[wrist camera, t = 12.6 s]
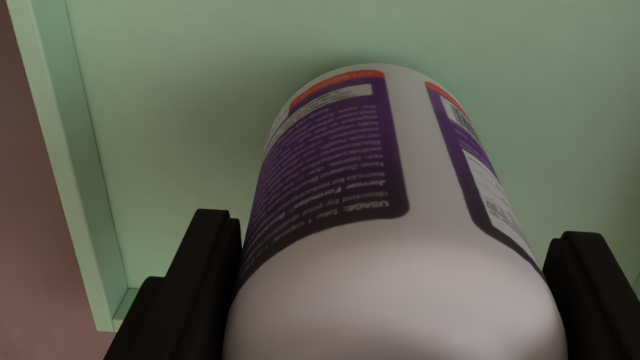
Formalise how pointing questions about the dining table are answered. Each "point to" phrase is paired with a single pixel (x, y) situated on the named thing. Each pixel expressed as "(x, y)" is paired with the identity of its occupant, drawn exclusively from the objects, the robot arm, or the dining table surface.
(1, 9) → the dining table surface
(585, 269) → the robot arm
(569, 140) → the tray
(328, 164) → the pill bottle
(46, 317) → the dining table surface
